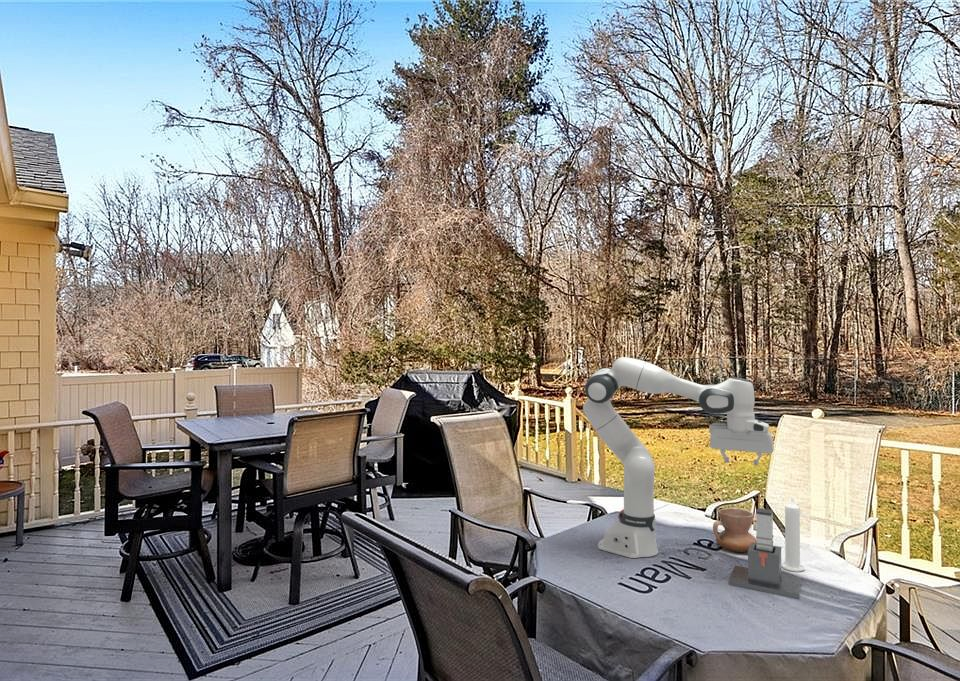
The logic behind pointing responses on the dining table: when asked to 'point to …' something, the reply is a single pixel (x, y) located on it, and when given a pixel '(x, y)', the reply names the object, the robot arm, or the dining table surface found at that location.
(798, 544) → the candle
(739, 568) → the stand housing
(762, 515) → the column
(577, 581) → the dining table surface
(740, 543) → the ceramic jug
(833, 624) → the dining table surface
